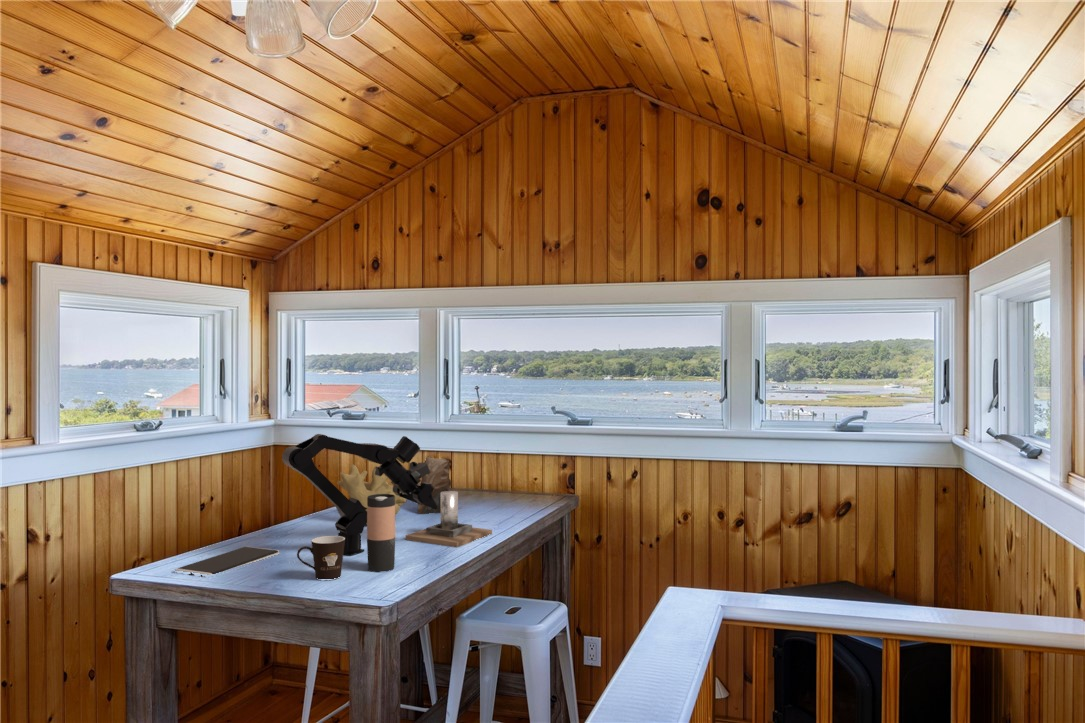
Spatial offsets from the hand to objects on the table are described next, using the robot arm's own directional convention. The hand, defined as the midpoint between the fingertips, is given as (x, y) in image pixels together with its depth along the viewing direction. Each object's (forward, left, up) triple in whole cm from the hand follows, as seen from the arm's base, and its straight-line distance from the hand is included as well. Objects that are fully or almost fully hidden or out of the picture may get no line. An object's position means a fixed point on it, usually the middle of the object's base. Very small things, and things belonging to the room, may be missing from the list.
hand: (429, 506), depth 245 cm
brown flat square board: (+7, -3, -11) cm, 13 cm away
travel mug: (-33, -9, -11) cm, 36 cm away
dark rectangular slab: (-49, +33, -12) cm, 61 cm away
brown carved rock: (+38, +28, -11) cm, 48 cm away
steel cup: (+7, -3, -9) cm, 12 cm away
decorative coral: (+16, +36, -11) cm, 41 cm away
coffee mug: (-47, -1, -11) cm, 49 cm away
